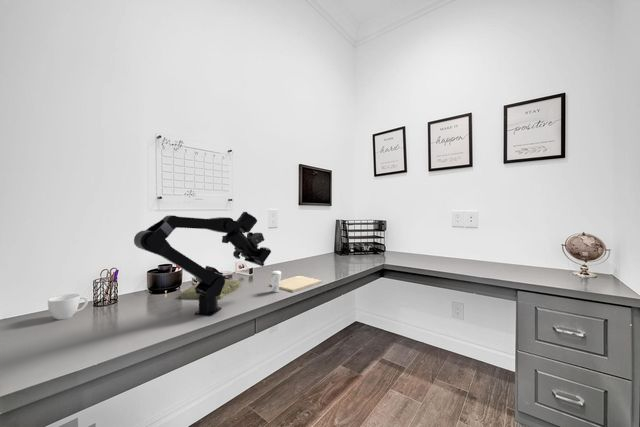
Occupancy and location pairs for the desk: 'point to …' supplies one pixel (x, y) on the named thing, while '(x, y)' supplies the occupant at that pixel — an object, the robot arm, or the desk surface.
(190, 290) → the olive green cushion
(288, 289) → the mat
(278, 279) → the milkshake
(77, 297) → the cup
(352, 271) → the desk surface
